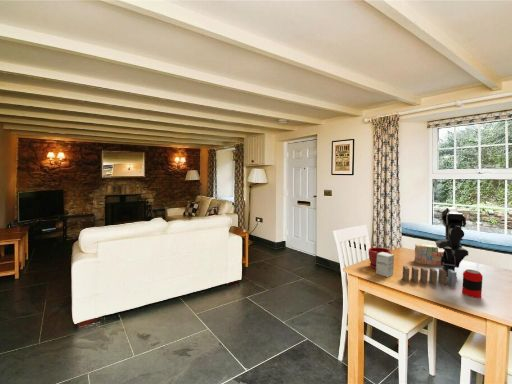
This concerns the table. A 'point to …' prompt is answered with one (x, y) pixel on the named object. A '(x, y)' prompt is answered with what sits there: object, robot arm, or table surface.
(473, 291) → the soda can
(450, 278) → the domino
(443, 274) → the domino
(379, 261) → the supplement box
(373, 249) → the plant pot
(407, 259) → the table surface
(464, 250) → the robot arm
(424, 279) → the domino
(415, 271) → the domino
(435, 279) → the domino
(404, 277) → the domino
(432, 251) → the printed cardboard carton
